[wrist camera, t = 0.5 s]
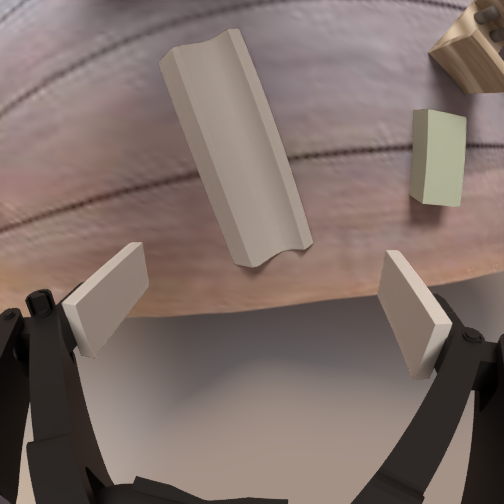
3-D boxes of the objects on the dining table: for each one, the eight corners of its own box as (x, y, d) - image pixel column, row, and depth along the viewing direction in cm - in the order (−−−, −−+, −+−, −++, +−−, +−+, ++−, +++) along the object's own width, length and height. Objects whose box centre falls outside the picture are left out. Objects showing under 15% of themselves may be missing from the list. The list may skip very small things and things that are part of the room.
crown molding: (311, 240, 43) (313, 251, 40) (233, 262, 46) (228, 273, 42) (238, 30, 32) (234, 22, 29) (157, 64, 35) (147, 60, 31)
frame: (474, -1, 23) (515, -21, 12) (506, 37, 24) (551, 27, 13) (428, 52, 29) (472, 35, 18) (465, 94, 31) (515, 92, 20)
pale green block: (412, 110, 33) (428, 109, 29) (448, 116, 33) (466, 117, 28) (408, 194, 38) (422, 203, 34) (443, 197, 37) (459, 206, 33)
